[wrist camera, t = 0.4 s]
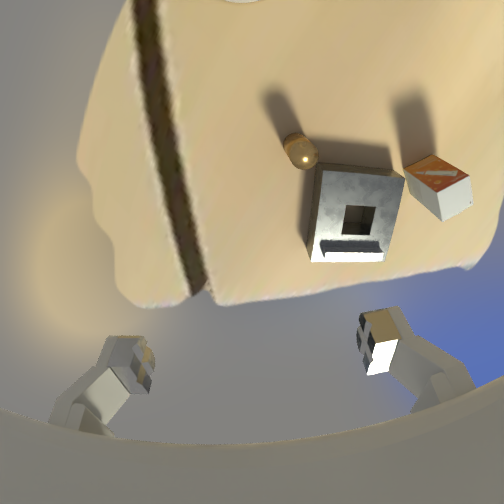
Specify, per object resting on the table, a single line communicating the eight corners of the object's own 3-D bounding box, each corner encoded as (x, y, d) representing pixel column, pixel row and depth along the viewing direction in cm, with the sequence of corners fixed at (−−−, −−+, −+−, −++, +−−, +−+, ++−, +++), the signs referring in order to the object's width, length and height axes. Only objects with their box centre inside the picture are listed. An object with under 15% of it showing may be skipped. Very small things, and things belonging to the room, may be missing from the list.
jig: (316, 162, 51) (326, 174, 45) (393, 170, 52) (410, 182, 46) (306, 248, 61) (312, 267, 55) (376, 248, 61) (388, 267, 55)
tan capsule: (284, 132, 48) (291, 141, 41) (309, 134, 48) (319, 142, 41) (282, 156, 50) (289, 168, 44) (307, 157, 51) (317, 170, 44)
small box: (432, 153, 49) (470, 174, 38) (438, 179, 52) (474, 205, 41) (401, 168, 51) (436, 192, 40) (409, 194, 54) (442, 223, 43)
